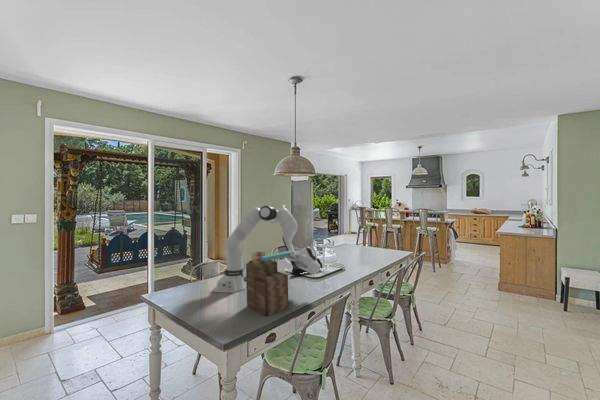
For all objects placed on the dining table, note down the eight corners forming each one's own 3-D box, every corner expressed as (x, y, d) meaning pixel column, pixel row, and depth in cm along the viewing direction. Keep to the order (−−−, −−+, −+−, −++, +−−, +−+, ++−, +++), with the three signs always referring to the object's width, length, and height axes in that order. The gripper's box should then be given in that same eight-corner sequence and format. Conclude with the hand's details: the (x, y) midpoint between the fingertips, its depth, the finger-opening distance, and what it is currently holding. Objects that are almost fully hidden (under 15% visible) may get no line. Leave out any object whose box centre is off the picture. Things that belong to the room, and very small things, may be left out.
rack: (268, 299, 184) (267, 249, 183) (288, 308, 169) (287, 254, 168) (247, 306, 173) (245, 253, 172) (266, 316, 158) (265, 258, 158)
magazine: (290, 266, 232) (318, 251, 248) (288, 265, 235) (316, 250, 251) (296, 285, 235) (323, 268, 251) (294, 284, 238) (321, 268, 254)
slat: (290, 254, 179) (290, 250, 179) (294, 254, 176) (294, 251, 176) (260, 260, 164) (260, 256, 164) (264, 261, 161) (264, 257, 161)
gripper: (292, 254, 192) (278, 246, 183) (314, 258, 176) (299, 250, 168) (289, 263, 190) (274, 255, 181) (310, 268, 174) (295, 260, 166)
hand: (286, 253), depth 175 cm, fingers closed on slat, 4 cm apart
